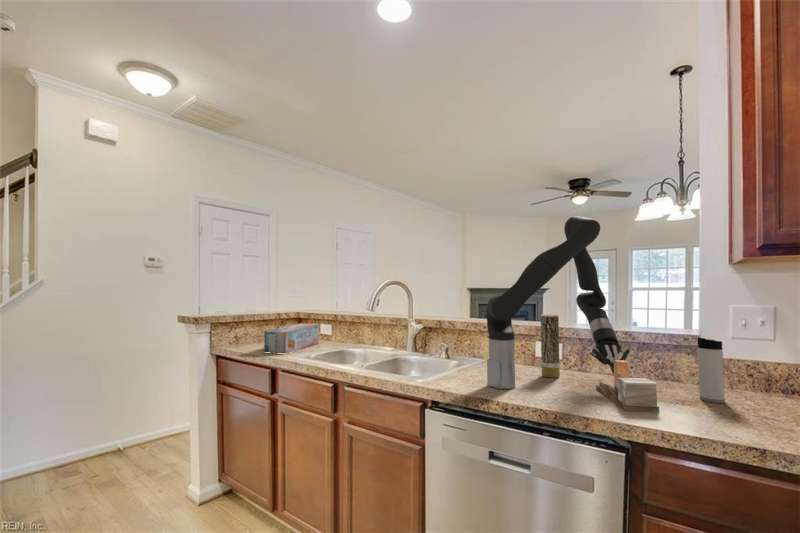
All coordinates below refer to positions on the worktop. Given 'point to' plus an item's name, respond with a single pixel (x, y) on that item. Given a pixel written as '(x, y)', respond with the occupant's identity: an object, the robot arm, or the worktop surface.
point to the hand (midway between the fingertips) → (618, 374)
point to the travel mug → (711, 370)
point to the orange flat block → (620, 371)
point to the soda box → (291, 338)
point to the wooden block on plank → (632, 394)
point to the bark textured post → (550, 345)
